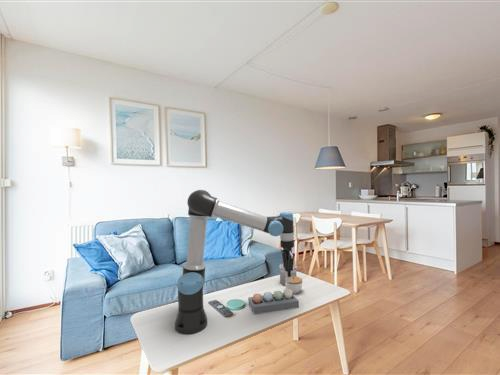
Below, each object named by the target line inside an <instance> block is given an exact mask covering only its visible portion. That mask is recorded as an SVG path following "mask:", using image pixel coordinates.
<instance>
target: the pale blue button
mask: <svg viewBox="0 0 500 375" xmlns="http://www.w3.org/2000/svg"><path fill="white" fill-rule="evenodd" d="M272 294H273V293H272V292H269V291H265V292H264V293H263V295H264V301H265V302H271V301H272Z"/></svg>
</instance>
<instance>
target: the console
mask: <svg viewBox="0 0 500 375" xmlns="http://www.w3.org/2000/svg"><path fill="white" fill-rule="evenodd" d="M248 305H249V307H250V309H251V311H252V313H253V314H254V315H256V314H257V315H258V314H259V315H260V314H264V313H271V312H277V311H283V310H290V309H296V308H299V307H300V301H299V300H298V298H297V297H296V296H295V294H292V299H286V298H284V292H282V300H280V301H277V300H275V299H274V293H272V301H271V302H265V301H264V294H263V295H261V303H259V304H256V303H254V302H253V296H249V297H248Z"/></svg>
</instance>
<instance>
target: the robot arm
mask: <svg viewBox="0 0 500 375" xmlns="http://www.w3.org/2000/svg"><path fill="white" fill-rule="evenodd" d="M186 203H187V206H188V210H187V211H188V212H187V215H188V217H189V218H190V219H189V220H190V223H189V232H188V234H189V235H188V244H187V253H186V254H187V255H186V263H184V264H183V268H182V275H180V276H179V277H178V280H177V300H178V301H177V303H178V305H177V306H178V311H177V315H176V318H175V321H174V328H175V331H176V332H177V331H178V332H177V333H179V334H183V335H191V334H192V335H193V334H195V333H200V332H201V331H203V330H204V329H205V328H206V327H207V326H208V316H207V314H206V311H205V308H204V284H205V281H206V264H205V263H204V255H205V243H206V237H207V236H206V234H207V224H208V219H209V218H213V217H216V218H220V219H223V220H226V221H230V222H232V223H235V224H238V225H241V226H244V227H247V228H249V229H250V228H251V229H253V230H257V231H259V232H260V231H261V232H263V233H265V234H268V235H270V236H273V237H279V239H280V243H279V244H280V248H282V249H281V256H282V264H283V266H284V268H285V274H286V283H289V282H291V271H293V264H294V258H295V255H294V254H293V248H294V247H295V240H294V239H295V233H294V232H295V231H294V230H295V228H294V226H295V225H294V221H295V220H294V215H293V214H294V213H293V212H291V211H281V212H279V215H275V216H265V215H261V214H259V213H256V212H252V211H250V210H247V209H244V208H241V207H238V206H236V205H232V204H228V203H225V202H223V201H220V200H219V199H218V198H217V197H215V196H212V195H211V194H210V192H209V191H207V190H204V189H197V190H195V191H193V192H191V193H190V194H189V195H188V198H187V202H186Z"/></svg>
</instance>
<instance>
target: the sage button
mask: <svg viewBox="0 0 500 375" xmlns="http://www.w3.org/2000/svg"><path fill="white" fill-rule="evenodd" d="M282 293H283V292H282V291H281V290H275V291H274V292H273V294H274V299H275V300H277V301H280V300H282Z"/></svg>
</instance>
